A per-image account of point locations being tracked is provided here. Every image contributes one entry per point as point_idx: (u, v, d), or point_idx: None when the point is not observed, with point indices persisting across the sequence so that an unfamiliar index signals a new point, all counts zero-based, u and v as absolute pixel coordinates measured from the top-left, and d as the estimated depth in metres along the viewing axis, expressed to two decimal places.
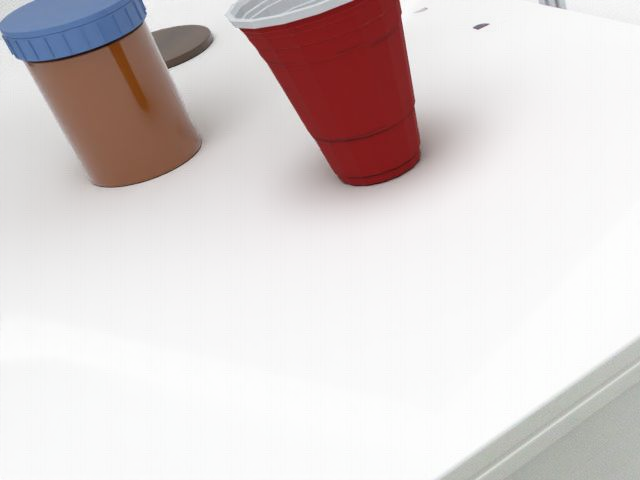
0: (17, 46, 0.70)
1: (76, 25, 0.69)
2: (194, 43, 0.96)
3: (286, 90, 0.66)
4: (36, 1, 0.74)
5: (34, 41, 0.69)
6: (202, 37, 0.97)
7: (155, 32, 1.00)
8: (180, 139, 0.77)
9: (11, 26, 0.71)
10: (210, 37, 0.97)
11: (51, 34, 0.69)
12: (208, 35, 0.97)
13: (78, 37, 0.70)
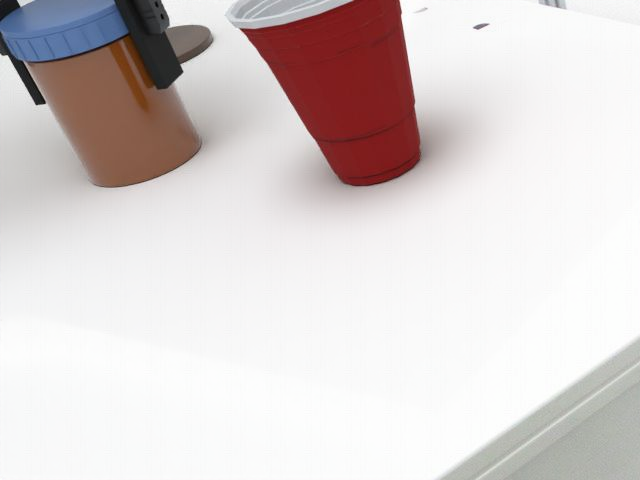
0: (17, 46, 0.70)
1: (76, 25, 0.69)
2: (194, 43, 0.96)
3: (286, 90, 0.66)
4: (36, 1, 0.74)
5: (34, 41, 0.69)
6: (202, 37, 0.97)
7: None
8: (180, 139, 0.77)
9: (11, 26, 0.71)
10: (210, 37, 0.97)
11: (51, 34, 0.69)
12: (208, 35, 0.97)
13: (78, 37, 0.70)
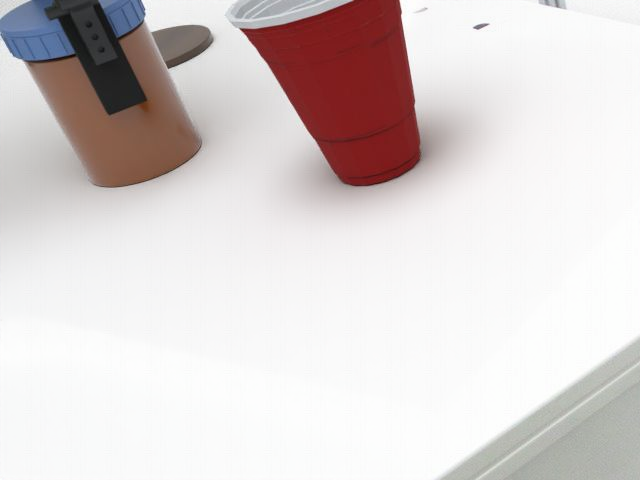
0: (138, 1, 0.73)
1: None
2: (194, 43, 0.96)
3: (286, 90, 0.66)
4: (48, 24, 0.69)
5: None
6: (202, 37, 0.97)
7: (155, 32, 1.00)
8: (180, 139, 0.77)
9: None
10: (210, 37, 0.97)
11: None
12: (208, 35, 0.97)
13: None
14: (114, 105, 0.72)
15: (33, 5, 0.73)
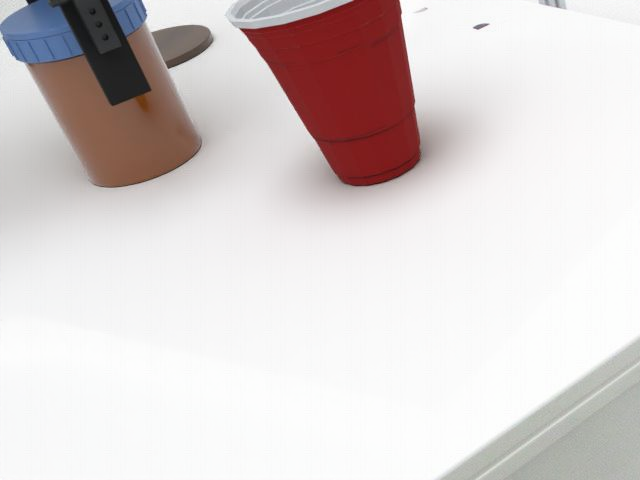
0: (140, 2, 0.73)
1: None
2: (194, 43, 0.96)
3: (286, 90, 0.66)
4: (52, 26, 0.69)
5: None
6: (202, 37, 0.97)
7: (155, 32, 1.00)
8: (180, 139, 0.77)
9: None
10: (210, 37, 0.97)
11: None
12: (208, 35, 0.97)
13: None
14: (118, 95, 0.70)
15: (33, 8, 0.73)
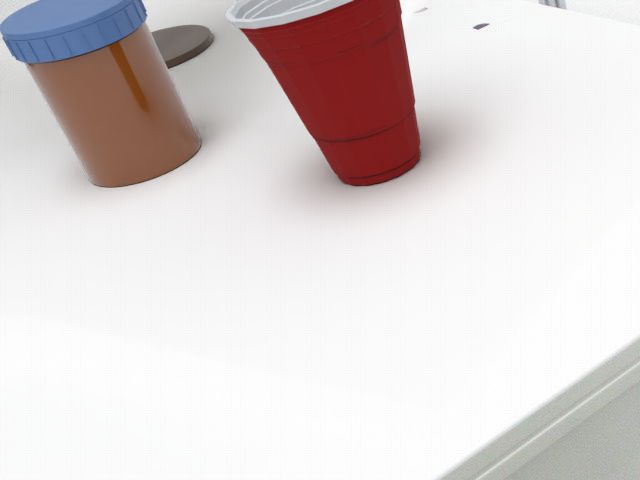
0: (140, 2, 0.73)
1: None
2: (194, 43, 0.96)
3: (286, 90, 0.66)
4: (52, 26, 0.69)
5: None
6: (202, 37, 0.97)
7: (155, 32, 1.00)
8: (180, 139, 0.77)
9: None
10: (210, 37, 0.97)
11: None
12: (208, 35, 0.97)
13: None
14: None
15: (33, 8, 0.73)
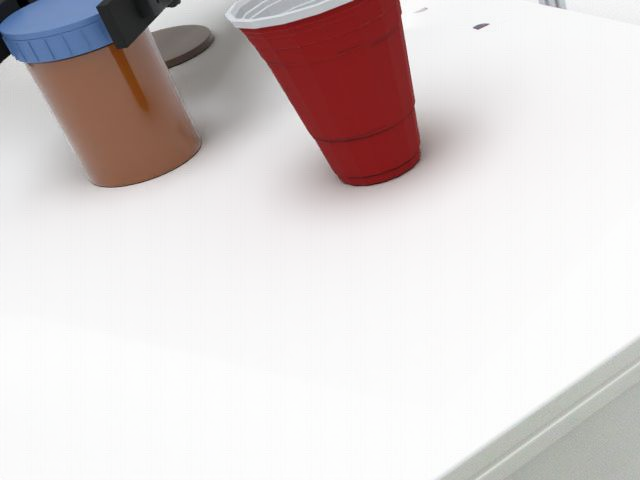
0: None
1: None
2: (194, 43, 0.96)
3: (286, 90, 0.66)
4: (52, 26, 0.69)
5: None
6: (202, 37, 0.97)
7: (155, 32, 1.00)
8: (180, 139, 0.77)
9: None
10: (210, 37, 0.97)
11: None
12: (208, 35, 0.97)
13: None
14: (114, 11, 0.68)
15: (33, 8, 0.73)
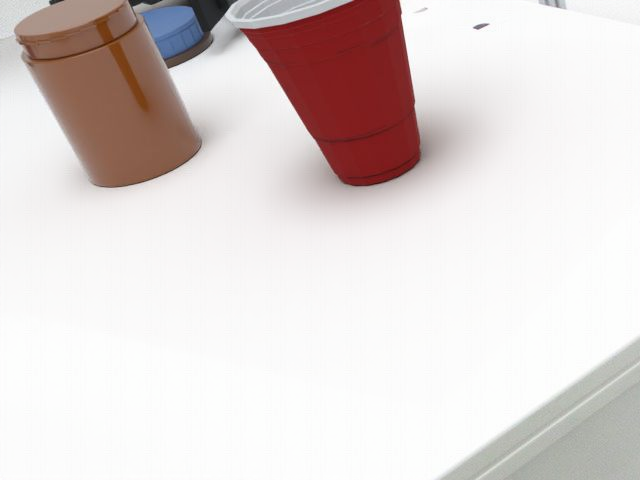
0: None
1: None
2: None
3: (286, 90, 0.66)
4: None
5: None
6: None
7: None
8: (180, 139, 0.77)
9: (184, 19, 0.95)
10: (210, 37, 0.97)
11: None
12: (208, 35, 0.97)
13: None
14: (202, 3, 0.92)
15: None
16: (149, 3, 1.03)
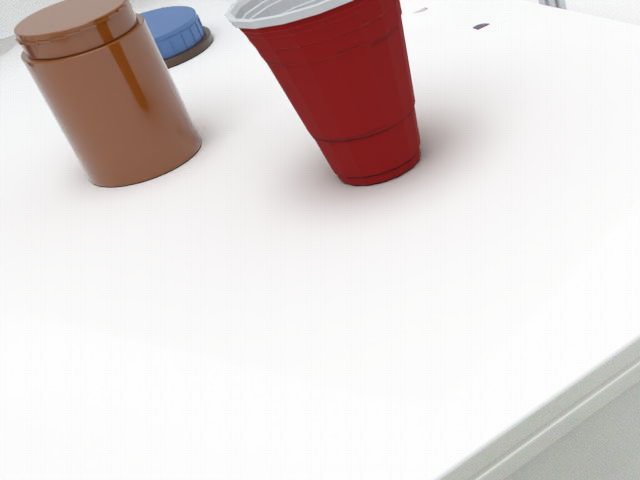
0: (200, 22, 0.97)
1: None
2: None
3: (286, 90, 0.66)
4: None
5: None
6: None
7: None
8: (180, 139, 0.77)
9: (184, 19, 0.95)
10: (210, 37, 0.97)
11: None
12: (208, 35, 0.97)
13: None
14: None
15: None
16: None
